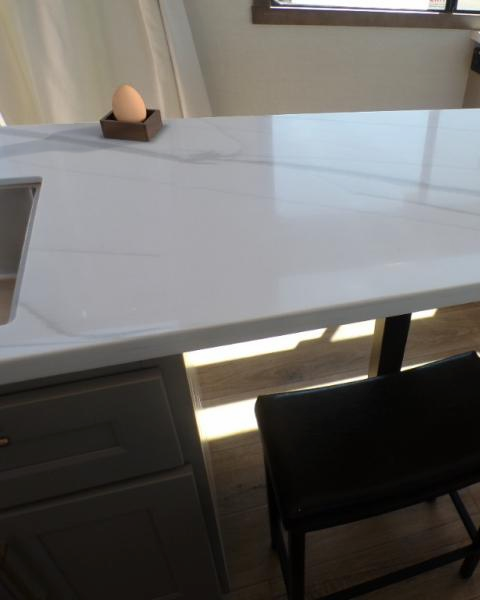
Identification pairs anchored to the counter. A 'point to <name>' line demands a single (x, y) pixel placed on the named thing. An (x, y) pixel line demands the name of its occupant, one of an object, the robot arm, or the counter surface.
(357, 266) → the counter surface
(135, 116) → the egg
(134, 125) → the open wooden tray
